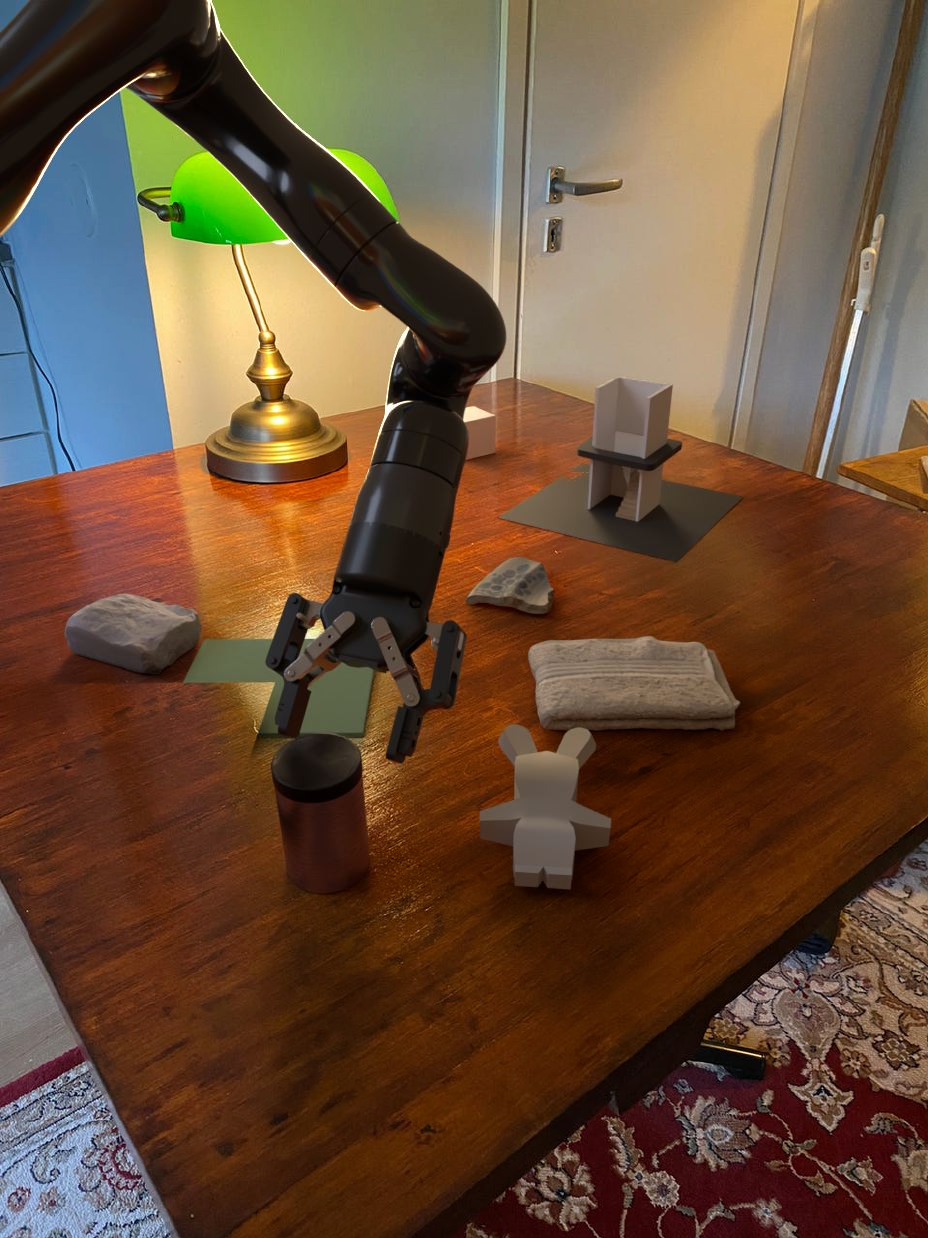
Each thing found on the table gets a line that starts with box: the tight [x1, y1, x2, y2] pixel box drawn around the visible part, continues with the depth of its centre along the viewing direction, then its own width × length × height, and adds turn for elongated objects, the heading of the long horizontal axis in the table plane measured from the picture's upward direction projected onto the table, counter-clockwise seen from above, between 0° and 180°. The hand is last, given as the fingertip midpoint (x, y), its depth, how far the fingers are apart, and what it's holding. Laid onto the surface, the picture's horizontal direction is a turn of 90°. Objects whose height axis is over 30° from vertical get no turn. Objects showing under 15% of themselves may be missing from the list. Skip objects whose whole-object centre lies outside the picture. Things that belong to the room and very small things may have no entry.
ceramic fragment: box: [465, 556, 555, 615], centre depth 101 cm, size 11×3×10 cm
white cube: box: [463, 405, 497, 461], centre depth 142 cm, size 6×6×6 cm
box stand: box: [497, 375, 744, 563], centre depth 119 cm, size 25×24×16 cm
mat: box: [182, 638, 376, 739], centre depth 86 cm, size 18×16×1 cm
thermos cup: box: [270, 733, 371, 895], centre depth 64 cm, size 6×6×10 cm
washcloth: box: [527, 635, 741, 732], centre depth 83 cm, size 12×18×3 cm, turn 91°
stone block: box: [64, 593, 203, 676], centre depth 92 cm, size 12×5×10 cm
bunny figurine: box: [479, 723, 612, 890], centre depth 68 cm, size 10×5×15 cm
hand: (339, 748), depth 65 cm, fingers open, 8 cm apart
